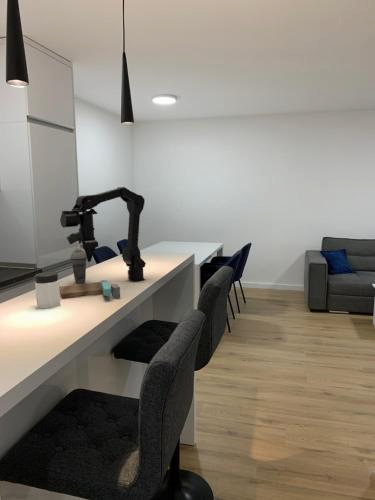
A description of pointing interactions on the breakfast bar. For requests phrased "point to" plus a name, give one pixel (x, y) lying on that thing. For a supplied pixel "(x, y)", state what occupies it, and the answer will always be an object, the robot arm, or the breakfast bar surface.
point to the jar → (47, 290)
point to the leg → (105, 287)
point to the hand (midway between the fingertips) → (89, 261)
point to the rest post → (115, 291)
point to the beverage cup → (79, 265)
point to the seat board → (80, 290)
